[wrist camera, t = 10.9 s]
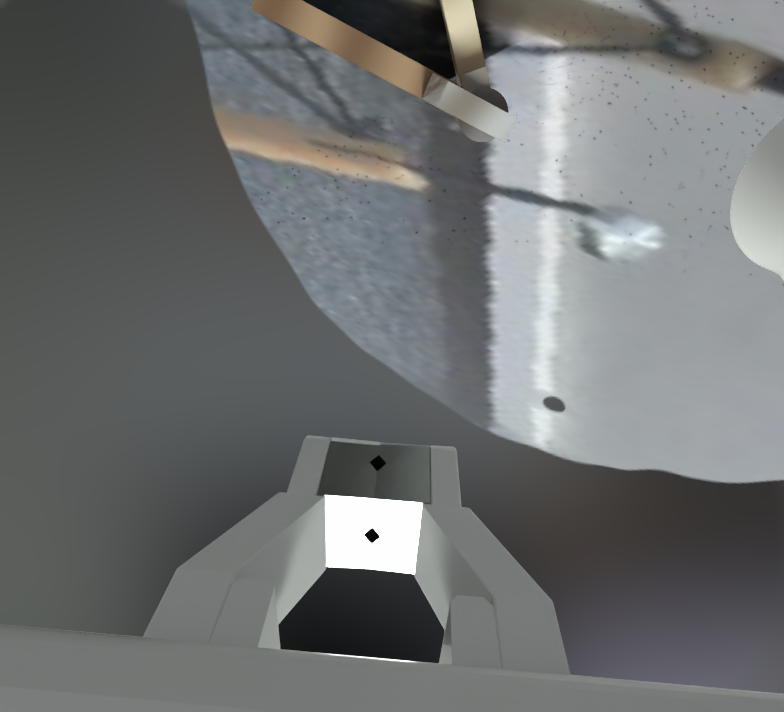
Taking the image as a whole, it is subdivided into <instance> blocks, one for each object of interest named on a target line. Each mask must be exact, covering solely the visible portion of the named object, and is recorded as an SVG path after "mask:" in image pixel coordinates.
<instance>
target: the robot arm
mask: <svg viewBox="0 0 784 712" xmlns="http://www.w3.org/2000/svg"><path fill="white" fill-rule="evenodd" d="M730 216H731V226H732V231H733V234H734V237H735V240H736V242H737V244H738V245H739V247H740V249H741V250H742V251H743V252H744V254H745V255H746V256H747V257H748V258H750V259H751V260H752V261H753V262H755V263H756V264H758V265H760V266H762V267H764V268H766V269H769V270H771V271H773V272H775V273H777V274H778V275H780V276H781V277H782V279H783V280H784V119H783V120H782V121H780V122H779V123H778V124H777V125H776V126H775V127H774V128H773V129H772V130H771V131H770V132H769V133H768V134H767V135H766V136H765V137H764V138H763V139H762V141H761V142H760V143H759V144H758V145H757V147H756V148H755V149H754V151H753V152H752V154H751V155H750V157H749V158H748V160H747V162H746V163H745V165H744V167H743V169H742V171H741V173H740V175H739V177H738V180H737V182H736V185H735V188H734V192H733V196H732V201H731V211H730ZM326 566H328V567H346V568H364V569H370V567H371V569H377V570H385V571H393V572H403V573H412V574H415V575H414V576H415V578H416V580H417V582H418V583H419V585H420V587H421V589H422V591H423V592H424V594H425V596H426V598H427V599H428V601H429V603H430V605H431V606H432V608H433V610H434V612H435V613H436V615H437V617H438V619H439V621H440V622H441V624H442V626H443V628H444V630H445V634H444V639H443V645H442V650H441V656H440V662H439V664H438V663H427V662H416V661H405V660H394V659H382V658H371V657H360V656H348V655H338V654H326V653H315V652H304V651H292V650H282V649H280V641H279V629H278V624H279V623H280V622H281V621H282V620H283V618H284V617H285V616H286V615H287V614H288V613H289V611H290V610H291V609H292V608H293V607H294V605H295V604H296V603H297V602H298V601H299V600H300V599H301V598H302V596H303V595H304V594H305V593H306V592H307V590H308V589H309V588H310V587H311V586H312V585H313V583H314V582H315V581H316V580H317V579H318V578H319V576H320V575H321V574H322V573H323V572H324V571H325V569H326ZM0 712H784V694H779V693H767V692H756V691H745V690H733V689H721V688H711V687H700V686H689V685H677V684H666V683H655V682H644V681H632V680H621V679H609V678H598V677H588V676H576V675H570V672H569V667H568V663H567V659H566V655H565V651H564V646H563V642H562V638H561V634H560V630H559V626H558V621H557V617H556V613H555V609H554V605H553V601H552V600H551V599H550V598H549V597H548V596H547V595H546V593H545V592H544V591H543V590H542V589H541V588H540V587H539V586H538V585H537V583H536V582H535V581H534V580H533V579H532V578H531V577H530V576H529V574H527V572H526V571H525V570H524V569H523V568H522V567H521V566H520V564H519V563H518V562H517V561H516V560H515V559H514V558H513V557H512V555H511V554H510V553H509V552H508V551H507V550H506V549H505V548H504V547H503V546H502V544H501V543H500V542H499V541H498V540H497V539H496V538H495V537H494V535H493V534H492V533H491V532H490V531H489V530H488V529H487V528H486V526H485V525H484V524H483V523H482V522H481V521H480V520H479V519H478V518H477V516H476V515H475V514H474V513H473V512H472V511H471V510H470V508H464V507H461V496H460V485H459V474H458V462H457V450H456V449H455V447H448V446H430V447H429V446H421V445H407V444H393V443H381V442H372V441H362V440H352V439H342V438H329V437H319V436H307V437H306V438H305V439H304V442H303V445H302V448H301V451H300V454H299V457H298V460H297V463H296V466H295V469H294V472H293V475H292V478H291V482H290V485H289V488H288V491H287V493H278V494H276V495H275V496H274V497H272V498H271V499H270V500H268V501H267V502H266V503H264V504H263V505H262V506H260V507H259V508H258V509H256V510H255V511H254V512H252V513H251V514H250V515H248V516H247V517H246V518H244V519H243V520H242V521H240V522H239V523H238V524H236V525H235V526H234V527H232V528H231V529H229V530H228V531H227V532H225V533H224V534H223V535H221V536H220V537H219V538H217V539H216V540H215V541H213V542H212V543H211V544H209V545H208V546H207V547H205V548H204V549H203V550H201V551H200V552H199V553H197V554H196V555H195V556H193V557H192V558H191V559H189V560H188V561H187V562H185V563H184V564H183V565H181V566H180V567H178V568H177V570H176V572H175V574H174V576H173V578H172V580H171V582H170V584H169V586H168V588H167V590H166V592H165V594H164V596H163V598H162V600H161V602H160V604H159V606H158V608H157V610H156V611H155V614H154V615H153V617H152V620H151V622H150V624H149V625H148V627H147V630H146V632H145V633H144V636H143V637H134V636H124V635H113V634H112V635H111V634H100V633H90V632H79V631H67V630H55V629H45V628H33V627H22V626H10V625H0Z"/></svg>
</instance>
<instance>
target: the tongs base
mask: <svg viewBox="0 0 784 712" xmlns="http://www.w3.org/2000/svg"><path fill="white" fill-rule="evenodd" d="M439 3H440V7H441V11H442V16H443V20H444V24H445V29H446V33H447V38H448V42H449V46H450V51H451V55H452V60H453V64H454V68H455V73H456V77H457V82H458V84H459V85H461V86H462V85H463V88H464V90H466V91H468V92H470V93H472V94H474V95H475V96H477V97H479V98H481V99H483V100H485V101H487V102H488V103H490V104H492V105H494V106H496V107H498V108H500V109H501V110H503V111H505V112H507V113H508V106H507V103H506V100H505V99H504V97H503V96H502V95H501V94H500V93H499V92H498V91H496V90H494V89H491V88H490V84H489V79H488V74H487V69H486V66H485V61H484V56H483V51H482V46H481V41H480V36H479V31H478V26H477V21H476V16H475V11H474V6H473V1H472V0H439ZM456 120H457V123H458V124H459V126H460V128H461V130H462V131H463V133H464V134H465V135H466V136H467V137H468V138H470V139H471V140H473V141H477V142H486V141H490V140H492V139H494V138H495V137H493V136H491V135H489V134H487V133H485V132H483V131H481V130H479V129H477V128H476V127H474V126H472V125H470V124H468V123H466V122H464V121H462V120H460V119H458V118H457V117H456Z"/></svg>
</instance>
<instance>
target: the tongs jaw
mask: <svg viewBox="0 0 784 712" xmlns="http://www.w3.org/2000/svg"><path fill="white" fill-rule="evenodd" d="M251 10H253V11H255V12H257V13H259V14H261V15H263V16H265V17H267V18H269V19H270V20H272V21H274V22H276V23H278V24H280V25H282V26H284V27H286V28H288V29H289V30H291V31H293V32H295V33H297V34H299V35H301V36H303V37H305V38H307V39H308V40H310V41H312V42H314V43H316V44H318V45H320V46H322V47H324V48H326V49H327V50H329V51H331V52H333V53H335V54H337V55H339V56H341V57H343V58H345V59H346V60H348V61H350V62H352V63H354V64H356V65H358V66H360V67H362V68H364V69H365V70H367V71H369V72H371V73H373V74H375V75H377V76H379V77H381V78H383V79H384V80H386V81H388V82H390V83H392V84H394V85H396V86H398V87H400V88H402V89H403V90H405V91H407V92H409V93H411V94H413V95H415V96H417V97H419V98H421V99H422V100H424V101H426V102H428V103H430V104H432V105H434V106H436V107H438V108H439V109H441V110H443V111H445V112H447V113H449V114H451V115H453V116H455V117H457V118H458V119H460V120H462V121H464V122H466V123H468V124H470V125H472V126H474V127H476V128H477V129H479V130H481V131H483V132H485V133H487V134H489V135H491V136H493V137H495V138H496V139H498V140H500V141H502V142H504V143H505V141H506V140H507V138H508V136H509V134H510V132H511V130H512V128H513V126H514V125H515V123H516V121H517V119H518V118H516V117H514V116H513V115H511V114H509V113H507V112H505V111H503V110H501V109H500V108H498V107H496V106H494V105H492V104H490V103H488V102H487V101H485V100H483V99H481V98H479V97H477V96H475V95H474V94H472V93H470V92H468V91H466V90H464V89H462V88H461V87H459V86H457V84H456V83H455V82H453V81H451V80H449V79H447V78H445V77H443V76H442V75H440V74H438V73H436V72H434V71H432V70H430V69H429V68H427V67H425V66H423V65H421V64H419V63H417V62H416V61H414V60H412V59H410V58H408V57H406V56H404V55H403V54H401V53H399V52H397V51H395V50H393V49H391V48H390V47H388V46H386V45H384V44H382V43H380V42H378V41H377V40H375V39H373V38H371V37H369V36H367V35H365V34H364V33H362V32H360V31H358V30H356V29H354V28H352V27H351V26H349V25H347V24H345V23H343V22H341V21H339V20H338V19H336V18H334V17H332V16H330V15H328V14H326V13H325V12H323V11H321V10H319V9H317V8H315V7H313V6H312V5H310V4H308V3H306V2H304V1H302V0H254V1H253V5H252V8H251Z"/></svg>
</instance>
